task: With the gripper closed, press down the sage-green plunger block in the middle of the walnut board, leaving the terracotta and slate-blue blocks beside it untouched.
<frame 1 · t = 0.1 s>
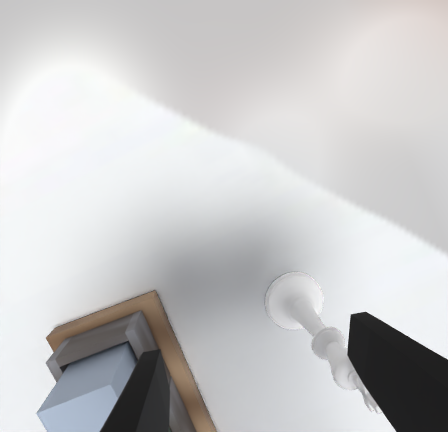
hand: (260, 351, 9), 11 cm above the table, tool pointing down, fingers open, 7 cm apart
board: (152, 405, 21), on the table
chess piece: (292, 298, 21), on the table
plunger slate: (102, 399, 15), point 5 cm above the table, slide at 0.0 cm
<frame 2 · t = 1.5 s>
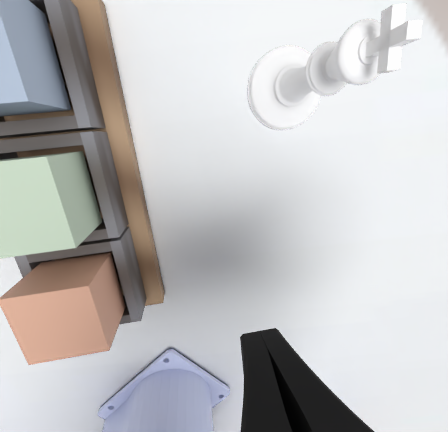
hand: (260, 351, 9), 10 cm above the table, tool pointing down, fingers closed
board: (78, 182, 16), on the table
chess piece: (282, 91, 16), on the table
plunger sage: (36, 200, 12), point 5 cm above the table, slide at 0.0 cm
plunger terracotta: (73, 303, 14), point 5 cm above the table, slide at 0.0 cm
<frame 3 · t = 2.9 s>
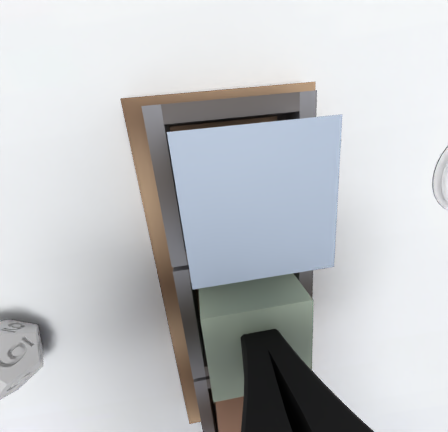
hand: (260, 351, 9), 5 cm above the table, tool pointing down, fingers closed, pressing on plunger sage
board: (235, 275, 14), on the table
plunger sage: (250, 320, 11), point 4 cm above the table, slide at 1.1 cm, touching gripper
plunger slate: (246, 193, 8), point 5 cm above the table, slide at 0.0 cm
game die: (24, 332, 14), on the table
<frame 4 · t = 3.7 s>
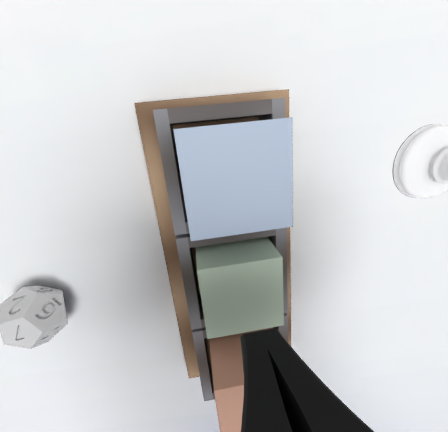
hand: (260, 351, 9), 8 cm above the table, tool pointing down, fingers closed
board: (227, 250, 17), on the table
chess piece: (423, 162, 17), on the table
plunger sage: (236, 279, 14), point 4 cm above the table, slide at 1.2 cm
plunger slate: (231, 174, 10), point 5 cm above the table, slide at 0.0 cm
game die: (50, 297, 17), on the table
plunger terracotta: (248, 378, 14), point 5 cm above the table, slide at 0.0 cm
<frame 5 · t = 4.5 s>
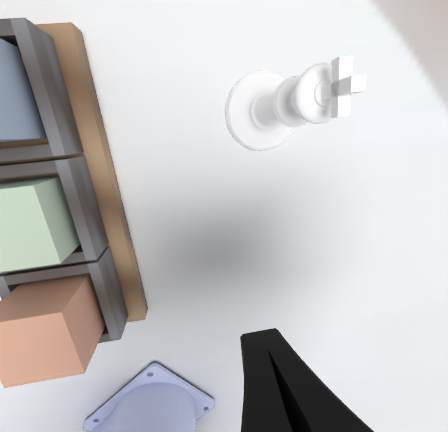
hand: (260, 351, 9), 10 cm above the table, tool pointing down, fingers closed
board: (59, 202, 16), on the table
chess piece: (260, 113, 17), on the table
plunger sage: (26, 220, 13), point 4 cm above the table, slide at 1.2 cm
plunger terracotta: (50, 325, 14), point 5 cm above the table, slide at 0.0 cm
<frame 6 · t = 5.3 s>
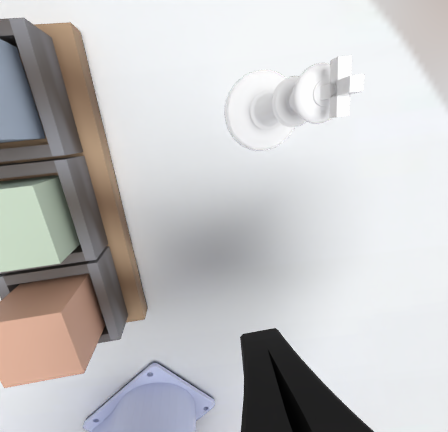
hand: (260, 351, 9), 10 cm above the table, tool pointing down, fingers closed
board: (58, 203, 16), on the table
chess piece: (260, 112, 17), on the table
plunger sage: (25, 220, 13), point 4 cm above the table, slide at 1.2 cm
plunger terracotta: (50, 326, 14), point 5 cm above the table, slide at 0.0 cm
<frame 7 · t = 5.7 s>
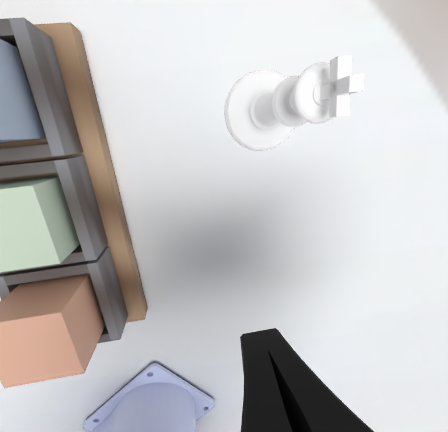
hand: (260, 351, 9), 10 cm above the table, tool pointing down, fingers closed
board: (58, 203, 16), on the table
chess piece: (260, 112, 17), on the table
plunger sage: (25, 220, 13), point 4 cm above the table, slide at 1.2 cm
plunger terracotta: (50, 326, 14), point 5 cm above the table, slide at 0.0 cm
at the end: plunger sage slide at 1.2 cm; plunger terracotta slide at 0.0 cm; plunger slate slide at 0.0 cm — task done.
